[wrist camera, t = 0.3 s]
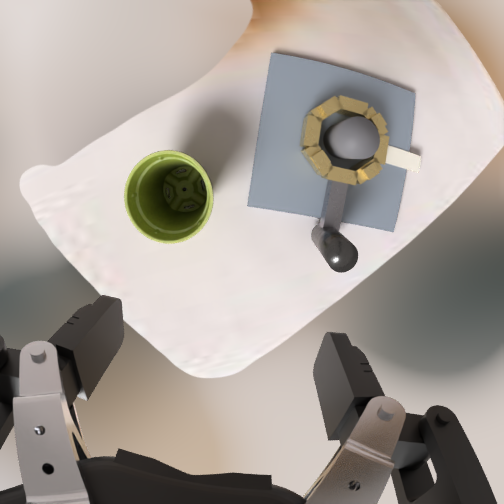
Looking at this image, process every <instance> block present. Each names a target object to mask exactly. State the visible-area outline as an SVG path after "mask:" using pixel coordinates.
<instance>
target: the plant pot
mask: <svg viewBox="0 0 504 504" xmlns="http://www.w3.org/2000/svg"><path fill="white" fill-rule="evenodd" d="M182 169H185V170H186V172H181V173H178V174H177V171H179V170H182ZM201 180H202V181H203V182H204V186H205V190H204V191H202V184H201ZM167 188H169V195H170V198H169V197H168V195H167V193H166V189H167ZM183 188H186V189H187V190H186V191H183ZM124 202H125V207H126V211H127V214H128V216H129V218H130V220H131V222H132V223H133V225H134V226H135V227H136V229H137V230H138V231H139V232H140V233H142V234H143V235H144V236H146V237H147V238H149V239H151V240H154V241H156V242H160V243H166V244H173V243H179V242H183V241H185V240H188V239H190V238H191V237H193V236H195V235H196V234H197V233H198V232H199V231H200V230H201V229H202V228H203V227H204V226H205V224H206V223H207V221H208V219H209V217H210V214H211V211H212V207H213V189H212V185H211V182H210V179H209V177H208V175H207V173H206V171H205V170H204V168H203V167H202V166H201V165H200V164H199V163H198V162H197V161H196V160H195V159H193V158H192V157H190V156H189V155H187V154H185V153H182V152H178V151H173V150H164V151H158V152H155V153H152V154H150V155H148V156H146V157H145V158H143V159H142V160H141V161H140V162H139V163H137V165H136V166H135V167H134V168H133V170H132V171H131V173H130V175H129V177H128V179H127V182H126V185H125V191H124ZM190 205H194V207H191V208H189V209H185V208H184V206H190Z"/></svg>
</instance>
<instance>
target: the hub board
mask: <svg viewBox="0 0 504 504" xmlns="http://www.w3.org/2000/svg"><path fill="white" fill-rule="evenodd" d="M339 95H341V96H345V97H349V98H352V99H355V100H359V101H362V102H365V103H368V108H370V107H373V108H374V110H375V111H376V113H380V114H381V115H382V117H383V119H384V120H385V122H386V123H387V125H386V126H385V127H386V129H387V130H388V132H387V133H386V134H384V135H386V136H389V143H388V150H387V156H386V163H385V165H381V164H380V165H381V167H382V168H383V169H382V170H380V171H379V172H380V173H379V174H378V175H376V176H375V177H373V178H372V179H370V180H366V181H365V182H363V183H362V184H361V185H360V184H356V185H351V184H348V189H347V194H346V199H345V204H344V209H343V214H342V219H341V222H345V223H350V224H355V225H361V226H366V227H371V228H376V229H381V230H385V231H390V232H394V228H395V224H396V220H397V215H398V211H399V206H400V202H401V197H402V192H403V187H404V181H405V176H406V170H410V171H413V172H416V173H419V169H420V163H421V156H418V155H416V154H413V153H410V152H409V151H410V144H411V136H412V127H413V118H414V106H415V93H413V92H410V91H408V90H405V89H403V88H401V87H398V86H395V85H393V84H390V83H388V82H385V81H382V80H379V79H376V78H374V77H371V76H368V75H364V74H361V73H358V72H355V71H352V70H348V69H345V68H341V67H337V66H334V65H330V64H326V63H322V62H318V61H313V60H309V59H304V58H299V57H294V56H289V55H283V54H277V53H271V58H270V64H269V70H268V76H267V82H266V89H265V95H264V101H263V107H262V113H261V120H260V126H259V132H258V139H257V145H256V152H255V158H254V165H253V171H252V178H251V185H250V191H249V198H248V205H247V206H249V207H256V208H262V209H269V210H275V211H282V212H288V213H294V214H300V215H306V216H312V217H317V218H321V213H322V208H323V203H324V198H325V192H326V187H327V181H328V179H324V178H321V176H320V175H317V174H316V173H315V171H314V170H313V168H312V167H311V165H310V164H309V162H308V161H307V160H306V158H305V157H304V155H303V154H302V153H301V150H303V149H304V148H305V147H300V146H299V145H300V139H301V132H302V126H303V119H304V118H305V117H306V116H307V115H306V114H308V113H309V112H310V111H311V110H313V109H314V108H316V107H318V106H319V105H321V104H322V103H324V102H326V101H327V100H329V99H331V98H332V97H334V96H336V98H337V97H338V96H339ZM379 144H380V136H379V132H378V130H377V128H376V126H375V125H374V124H373V123H372V122H371V121H370V120H368V119H366V118H364V117H359V116H357V117H349V116H345V115H341V114H338V113H333V114H332V115H330V116H329V117H327V118H325V119H324V120H322V123H321V130H320V136H319V143H318V145H319V147H320V148H321V150H323V151H324V152H325V154H326V155H327V157H328V158H329V160H330V161H331V162H330V163H331V164H332V166H335V167H339V168H344V169H350V168H351V167H353V166H354V165H356V164H357V163H359V162H360V161H361V160H363V159H366V158H369V157H371V156H373V155H374V154H375V153H376V151H377V150H378V148H379Z"/></svg>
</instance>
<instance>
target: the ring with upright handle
mask: <svg viewBox="0 0 504 504" xmlns="http://www.w3.org/2000/svg"><path fill="white" fill-rule="evenodd" d="M333 113H338V114H341V115H345V116H349V117H357V116H359V117H364V118H366V119H368V120H370V121H371V122H372V123H373V124H374V125H375V126H376V128H377V130H378V132H379V136H380V144H379V148H378V150H377V151H376V153H375V154H374V155H373V156H371V157H369V158H366V159H363V160H361V161H360V162H359V163H357V164H356V165H354V166H353V167H351V168H350V169H344V168H339V167H335V166H332V164H331V163H330V162H331V161H330V160H329V158H328V157H327V155H326V154H325V152H324V151H323V150H321V148H320V147H319V145H318V143H319V136H320V130H321V123H322V120H324V119H325V118H327V117H329V116H330V115H332V114H333ZM306 115H307V116H306V117H305V118H304V119H303V126H302V132H301V139H300V145H299V146H300V147H305V148H304V149H303V150H301V153H302V154H303V155H304V157H305V158H306V160H307V161H308V162H309V164H310V165H311V167H312V168H313V170H314V171H315V173H316V174H317V175H320V176H321V178H324V179H328V181H327V187H326V192H325V198H324V203H323V208H322V213H321V218H320V223H319V224H318V225H316V226H315V227H314V229H313V230H312V234H311V237H312V240H313V242H314V244H315V245H316V247H317V248H318V250H319V251H320V252H321V254H322V255H323V257H324V258H325V260H326V261H327V263H328V264H329V266H330V267H331V268H332V269H333V270H334V271H336V272H346V271H349V270H350V269H352V268H353V267H354V266H355V264H356V262H357V260H358V251H357V249H356V247H355V246H354V245H353V244H352V243H351V242H350V241H349V240H348V239H347V238H345V237H344V236H343V235H342V234H341V233H340V232H339V228H340V223H341V219H342V214H343V209H344V204H345V199H346V194H347V189H348V184H351V185H356V184H360V185H361V184H362V183H363V182H365V181H366V180H370V179H372V178H373V177H375V176H376V175H378V174H379V173H380V172H379V171H380V170H382V169H383V168H382V167H381V165H385V163H386V156H387V150H388V143H389V136H386V135H384V134H386V133H387V132H388V130H387V129H386V127H385V126H386V125H387V123H386V122H385V120H384V119H383V117H382V115H381V114H380V113H376V111H375V110H374V108H373V107H370V108H368V103H365V102H362V101H359V100H355V99H352V98H349V97H345V96H341V95H339V96H338V97H337V98H336V96H334V97H332V98H331V99H329V100H327V101H326V102H324V103H322V104H321V105H319V106H318V107H316V108H314V109H313V110H311V111H310V112H309V113H308V114H306ZM380 164H381V165H380Z"/></svg>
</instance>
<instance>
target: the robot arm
mask: <svg viewBox="0 0 504 504" xmlns="http://www.w3.org/2000/svg"><path fill="white" fill-rule="evenodd" d="M123 338H124V326H123V313H122V302H121V300H120V299H119V298H114V297H110V296H106V295H102V296H100V297H99V298H98V299H97V300H96V302H94V303H93V305H92V304H88V305H86V306H84V307H83V308H80V309H79V310H78V311H77V312H76V313H75V314H74V315H73V316H72V317H71V318H70V319H69V320H68V321H67V323H65V324H64V325H63V326H62V327H61V328H60V329H59V330H58V331H57V332H56V333H55V334H54V335H53V336H52V337H51V338H50V339H49V340H48V341H47V342H46V341H34V342H31V343H29V344H27V345H26V346H24V348H23V349H22V350H16V349H10V348H6V345H5V342H4V339H3V338H2V337H1V336H0V449H1V447H2V445H3V444H4V442H5V440H6V438H7V436H8V435H9V433H10V431H11V429H12V428H13V426H14V427H15V438H16V446H17V453H18V460H19V466H20V471H21V476H22V481H23V484H21V485H18V486H15V487H13V488H9V489H6V490H3V491H0V504H377V503H378V501H379V499H380V496H381V494H382V492H383V490H384V488H385V486H386V484H387V481H388V479H389V477H390V474H391V476H392V480H393V484H394V488H395V491H396V495H397V500H398V504H497V502H496V499H495V497H494V494H493V492H492V489H491V487H490V485H489V482H488V480H487V478H486V475H485V473H484V471H483V469H482V466H481V464H480V462H479V460H478V458H477V456H476V454H475V452H474V450H473V448H472V446H471V444H470V442H469V440H468V438H467V436H466V434H465V432H464V430H463V428H462V426H461V424H460V423H459V421H458V419H457V417H456V415H455V414H454V413H453V412H452V411H451V410H450V409H448V408H446V407H443V406H439V405H436V406H432V407H430V408H429V409H428V410H427V412H426V413H425V415H417V414H410V413H406V412H405V409H404V408H403V406H402V405H401V404H400V403H399V402H398V401H396V400H395V399H393V398H390V397H386V396H385V395H384V393H383V391H382V388H381V386H380V384H379V382H378V380H377V378H376V376H375V374H374V372H373V370H372V368H371V366H370V365H369V362H368V360H367V358H366V356H365V354H364V353H363V352H362V351H361V350H360V349H358V348H357V347H356V346H352V345H351V343H350V341H349V339H348V336H347V335H346V334H345V333H333V332H327V333H326V334H325V336H324V338H323V341H322V344H321V347H320V349H319V352H318V355H317V358H316V361H315V364H314V369H313V376H314V381H315V385H316V389H317V393H318V397H319V401H320V406H321V410H322V414H323V419H324V423H325V428H326V432H327V436H328V440H340V444H341V445H340V447H339V448H338V450H337V451H336V453H335V454H334V456H333V457H332V459H331V460H330V462H329V463H328V465H327V466H326V467H325V469H324V470H323V472H322V473H321V475H320V476H319V477H318V478H317V480H316V481H315V482H314V484H313V485H312V486H311V488H310V489H309V490H308V491H307V492H306V494H305V495H304V496H303V497H301V496H300V495H298V494H296V493H294V492H292V491H290V490H288V489H286V488H283V487H280V486H277V485H273V484H272V479H271V475H257V474H256V475H255V474H243V473H224V474H210V475H190V474H187V473H184V472H182V471H180V470H177V469H175V468H173V467H171V466H169V465H166V464H164V463H162V462H160V461H158V460H156V459H153V458H150V457H146V456H142V455H139V454H135V453H132V452H128V451H125V450H122V449H118V451H117V454H116V457H109V456H108V457H107V456H103V457H94V458H91V455H90V453H89V451H88V449H87V446H86V443H85V440H84V437H83V434H82V430H81V427H80V423H79V420H78V416H77V412H76V408H75V405H74V400H75V399H76V397H80V398H82V399H84V400H88V399H89V397H90V396H91V394H92V392H93V391H94V389H95V387H96V385H97V384H98V382H99V381H100V379H101V377H102V376H103V374H104V372H105V371H106V369H107V367H108V366H109V364H110V363H111V361H112V359H113V358H114V356H115V355H116V353H117V351H118V350H119V348H120V347H121V345H122V342H123ZM430 458H431V460H432V463H433V466H434V468H435V471H436V473H437V480H436V483H435V484H434V481H433V478H432V475H431V472H430V469H429V467H428V464H427V461H428V460H429V459H430Z"/></svg>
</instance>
